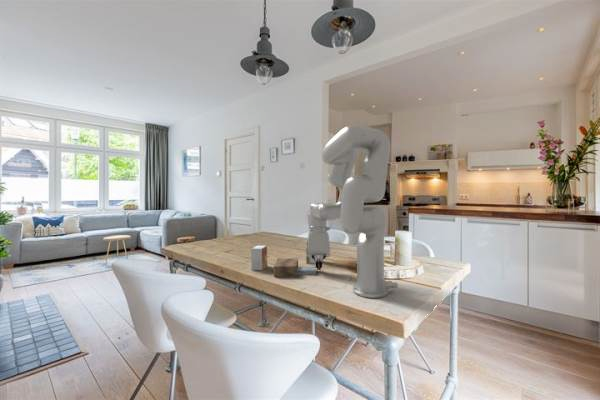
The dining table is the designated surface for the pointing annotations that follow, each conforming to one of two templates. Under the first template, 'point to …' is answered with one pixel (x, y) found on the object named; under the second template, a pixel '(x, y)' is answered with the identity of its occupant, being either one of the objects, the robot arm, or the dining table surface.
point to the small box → (258, 257)
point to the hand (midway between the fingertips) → (318, 269)
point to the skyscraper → (311, 260)
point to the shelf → (286, 268)
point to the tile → (307, 270)
